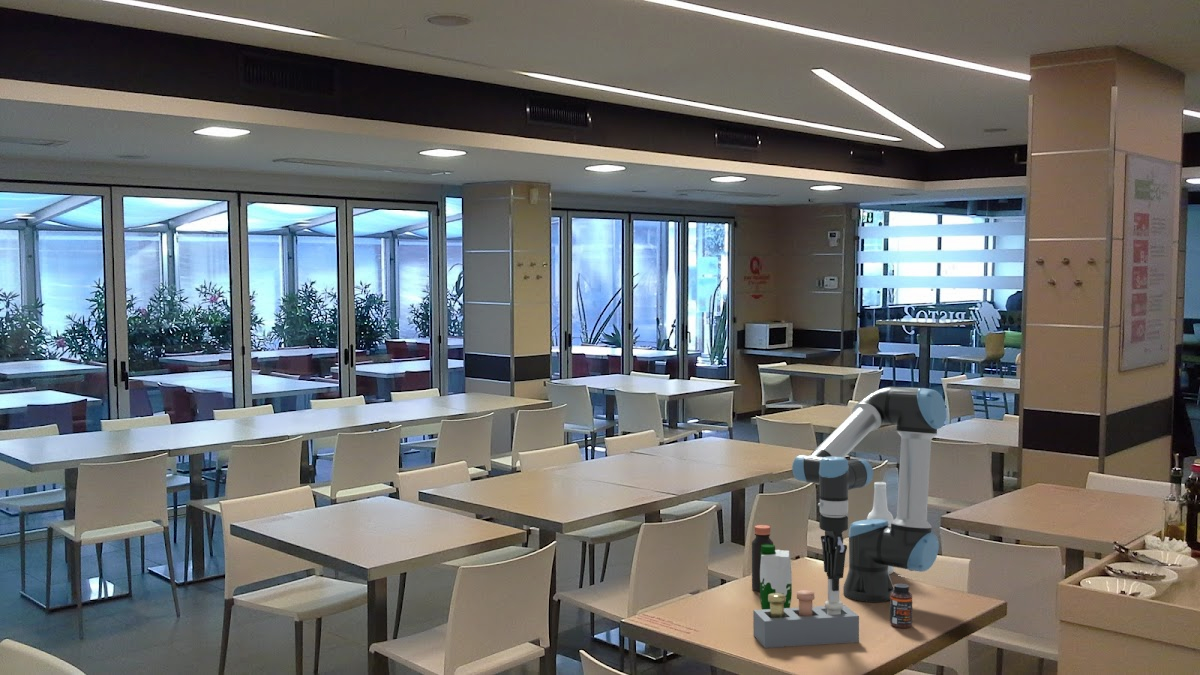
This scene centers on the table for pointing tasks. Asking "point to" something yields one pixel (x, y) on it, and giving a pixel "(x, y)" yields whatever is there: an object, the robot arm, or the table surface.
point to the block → (805, 627)
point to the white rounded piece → (833, 607)
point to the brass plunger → (776, 605)
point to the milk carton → (775, 574)
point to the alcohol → (881, 508)
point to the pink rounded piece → (805, 602)
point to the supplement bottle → (901, 606)
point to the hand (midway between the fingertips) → (833, 601)
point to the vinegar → (758, 553)
